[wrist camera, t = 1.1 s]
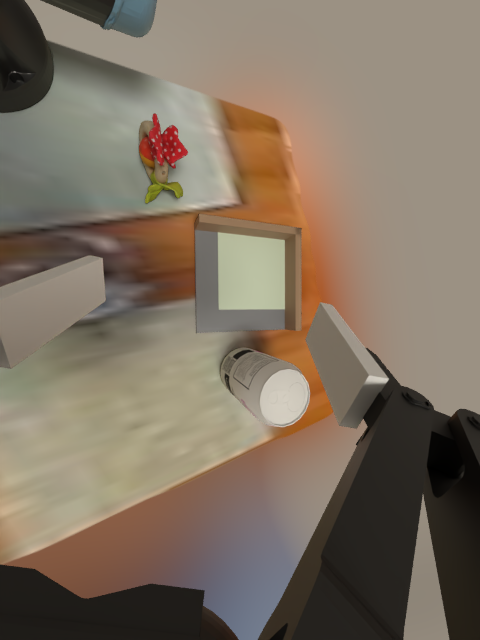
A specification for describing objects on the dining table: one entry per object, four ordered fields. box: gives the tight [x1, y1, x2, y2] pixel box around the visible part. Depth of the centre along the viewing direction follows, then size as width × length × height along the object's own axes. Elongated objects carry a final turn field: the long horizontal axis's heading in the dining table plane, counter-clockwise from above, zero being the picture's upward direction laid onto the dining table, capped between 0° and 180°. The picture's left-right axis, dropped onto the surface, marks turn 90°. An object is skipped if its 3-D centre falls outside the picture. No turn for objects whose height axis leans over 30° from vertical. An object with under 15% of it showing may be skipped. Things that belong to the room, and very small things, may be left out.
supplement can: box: [220, 347, 310, 427], centre depth 35 cm, size 8×8×15 cm
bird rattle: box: [139, 114, 188, 203], centre depth 32 cm, size 6×11×9 cm
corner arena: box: [195, 214, 301, 333], centre depth 40 cm, size 18×18×4 cm
